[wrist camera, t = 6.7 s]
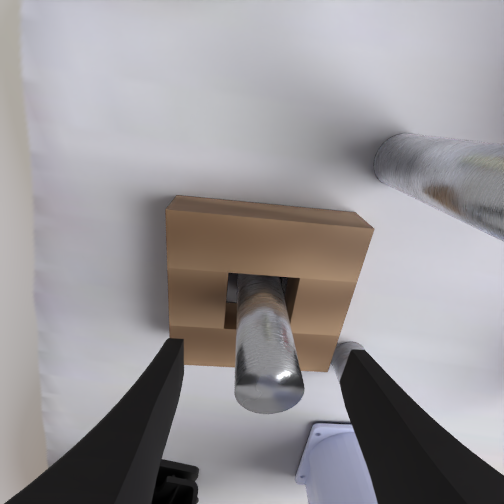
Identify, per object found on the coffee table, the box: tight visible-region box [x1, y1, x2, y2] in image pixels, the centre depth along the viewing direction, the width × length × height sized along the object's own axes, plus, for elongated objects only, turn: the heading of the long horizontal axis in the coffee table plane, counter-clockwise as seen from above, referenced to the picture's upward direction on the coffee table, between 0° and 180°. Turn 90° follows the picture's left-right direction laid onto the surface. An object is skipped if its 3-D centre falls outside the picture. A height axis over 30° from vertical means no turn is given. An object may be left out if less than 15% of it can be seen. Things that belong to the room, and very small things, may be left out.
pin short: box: [331, 342, 365, 387], centre depth 18 cm, size 3×3×5 cm
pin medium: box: [235, 273, 304, 414], centre depth 14 cm, size 3×3×8 cm
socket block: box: [165, 195, 374, 372], centre depth 16 cm, size 10×10×2 cm
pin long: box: [374, 133, 504, 241], centre depth 10 cm, size 3×3×10 cm
